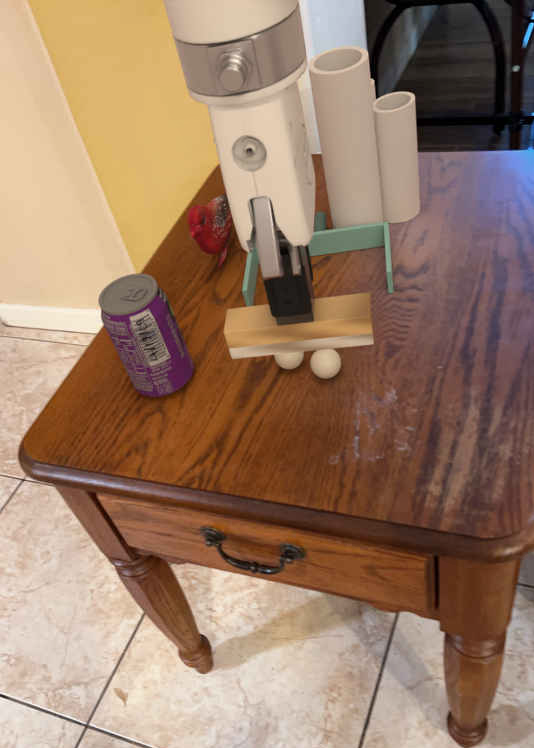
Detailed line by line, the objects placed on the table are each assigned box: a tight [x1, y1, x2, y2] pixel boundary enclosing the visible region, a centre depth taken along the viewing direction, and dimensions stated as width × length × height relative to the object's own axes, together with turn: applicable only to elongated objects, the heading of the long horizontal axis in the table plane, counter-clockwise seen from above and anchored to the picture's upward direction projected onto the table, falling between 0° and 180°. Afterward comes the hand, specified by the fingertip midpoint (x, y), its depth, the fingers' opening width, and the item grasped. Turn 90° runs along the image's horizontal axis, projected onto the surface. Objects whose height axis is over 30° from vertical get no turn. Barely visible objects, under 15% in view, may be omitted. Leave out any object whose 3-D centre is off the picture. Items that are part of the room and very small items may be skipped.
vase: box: [307, 45, 421, 229], centre depth 83 cm, size 11×7×20 cm, turn 115°
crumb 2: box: [309, 348, 342, 380], centre depth 73 cm, size 3×3×3 cm
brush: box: [223, 231, 375, 360], centre depth 56 cm, size 12×3×10 cm, turn 86°
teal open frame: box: [241, 210, 395, 307], centre depth 85 cm, size 17×16×3 cm
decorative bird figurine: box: [187, 190, 233, 270], centre depth 89 cm, size 3×18×10 cm, turn 166°
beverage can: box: [97, 273, 195, 398], centre depth 75 cm, size 7×7×12 cm
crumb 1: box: [273, 352, 305, 370], centre depth 75 cm, size 3×3×3 cm
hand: (293, 296), depth 56 cm, fingers closed on brush, 3 cm apart
